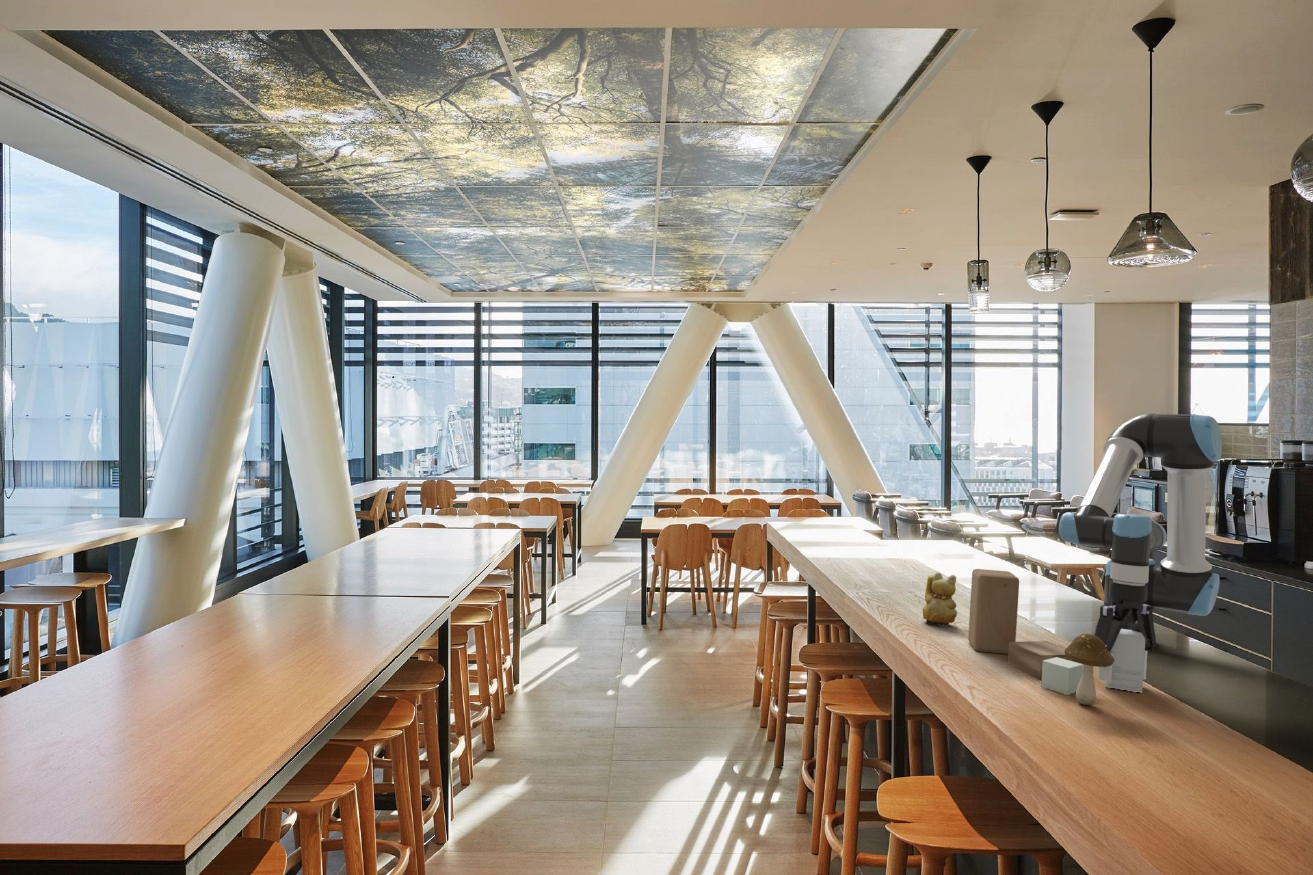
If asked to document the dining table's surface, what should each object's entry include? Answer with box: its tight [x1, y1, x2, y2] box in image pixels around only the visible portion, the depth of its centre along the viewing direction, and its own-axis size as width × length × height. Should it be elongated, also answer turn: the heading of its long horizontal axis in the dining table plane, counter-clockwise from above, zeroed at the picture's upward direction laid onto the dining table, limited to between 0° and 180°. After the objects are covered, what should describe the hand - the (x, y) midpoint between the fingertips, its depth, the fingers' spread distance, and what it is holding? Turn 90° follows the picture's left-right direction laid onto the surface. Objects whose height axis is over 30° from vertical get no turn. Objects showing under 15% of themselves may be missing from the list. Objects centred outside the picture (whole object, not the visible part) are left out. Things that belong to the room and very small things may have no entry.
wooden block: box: [967, 568, 1020, 655], centre depth 211 cm, size 10×10×20 cm
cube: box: [1040, 657, 1084, 696], centre depth 181 cm, size 6×6×6 cm
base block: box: [1007, 640, 1077, 681], centre depth 193 cm, size 11×11×6 cm
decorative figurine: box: [922, 571, 958, 627], centre depth 235 cm, size 10×8×15 cm
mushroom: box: [1064, 633, 1114, 706], centre depth 170 cm, size 9×11×15 cm
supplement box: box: [1103, 629, 1145, 694], centre depth 184 cm, size 7×7×13 cm
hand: (1122, 678), depth 184 cm, fingers closed on supplement box, 10 cm apart
